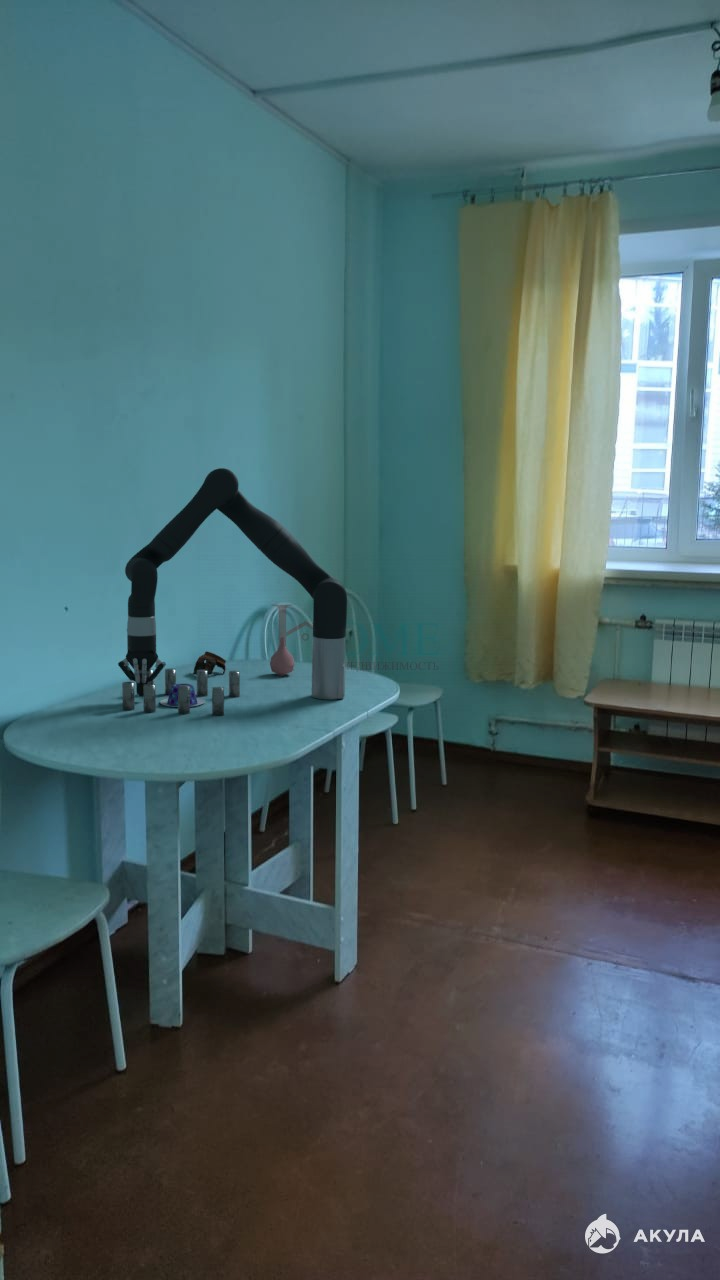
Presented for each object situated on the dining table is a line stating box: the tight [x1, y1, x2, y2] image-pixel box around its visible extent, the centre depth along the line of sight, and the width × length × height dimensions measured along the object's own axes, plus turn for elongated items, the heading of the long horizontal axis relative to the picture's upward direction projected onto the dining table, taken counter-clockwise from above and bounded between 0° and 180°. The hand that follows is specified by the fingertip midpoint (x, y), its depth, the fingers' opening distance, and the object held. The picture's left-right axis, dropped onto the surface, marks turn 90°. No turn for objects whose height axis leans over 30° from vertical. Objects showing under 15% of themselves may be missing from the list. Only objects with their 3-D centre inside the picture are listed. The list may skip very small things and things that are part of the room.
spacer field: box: [121, 668, 241, 717], centre depth 249 cm, size 27×25×7 cm
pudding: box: [159, 683, 206, 708], centre depth 249 cm, size 12×12×5 cm
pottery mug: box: [192, 651, 227, 676], centre depth 288 cm, size 12×10×8 cm
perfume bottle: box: [269, 636, 295, 677], centre depth 290 cm, size 8×8×12 cm
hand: (142, 695), depth 250 cm, fingers closed
